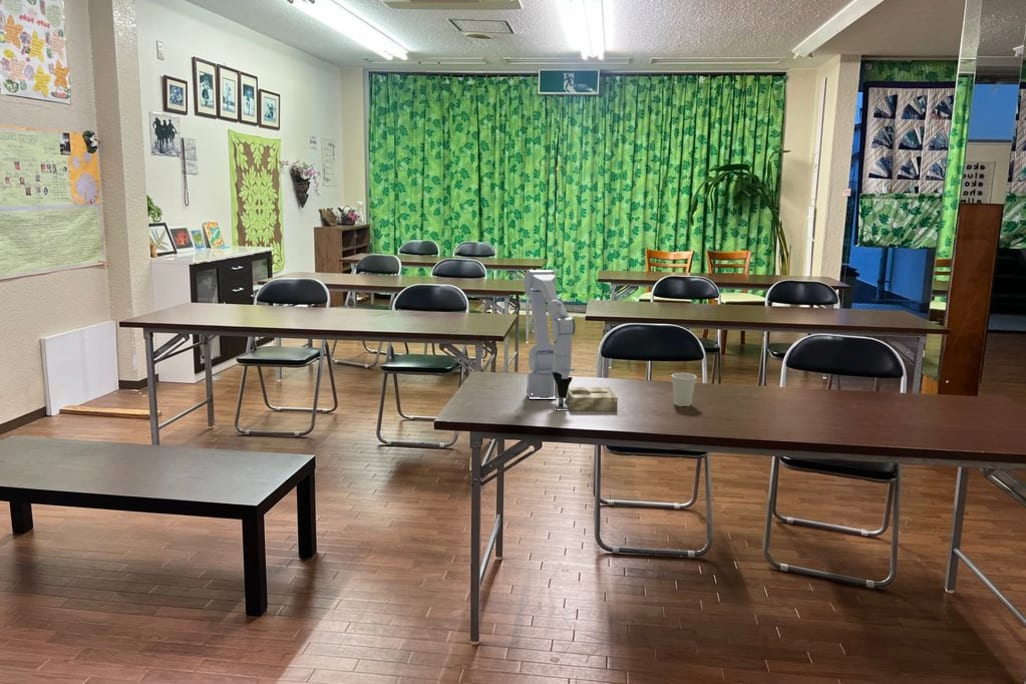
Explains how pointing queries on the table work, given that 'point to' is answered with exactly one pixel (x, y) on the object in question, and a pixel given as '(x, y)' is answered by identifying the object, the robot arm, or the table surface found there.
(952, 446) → the table surface
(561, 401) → the headed peg
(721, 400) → the table surface
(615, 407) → the keyhole plate
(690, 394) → the dixie cup
